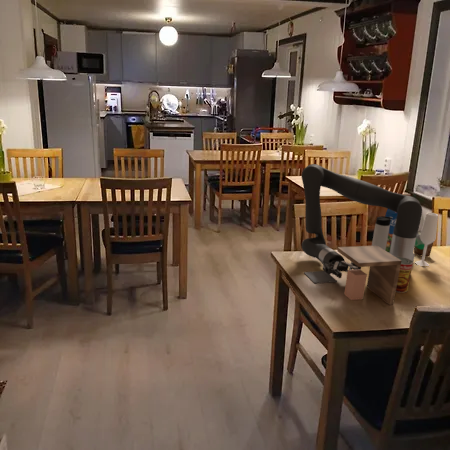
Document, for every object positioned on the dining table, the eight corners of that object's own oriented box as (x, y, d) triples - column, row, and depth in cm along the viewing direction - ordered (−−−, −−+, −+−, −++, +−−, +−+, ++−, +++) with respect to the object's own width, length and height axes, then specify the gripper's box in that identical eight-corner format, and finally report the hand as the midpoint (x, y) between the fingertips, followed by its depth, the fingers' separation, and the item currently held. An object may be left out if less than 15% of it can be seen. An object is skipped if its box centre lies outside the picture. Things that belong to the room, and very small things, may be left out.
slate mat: (325, 271, 193) (325, 270, 193) (336, 281, 184) (337, 280, 183) (303, 273, 190) (303, 272, 190) (314, 283, 181) (314, 282, 181)
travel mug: (386, 260, 209) (393, 219, 203) (372, 259, 209) (379, 218, 203) (382, 255, 215) (389, 215, 209) (368, 254, 215) (375, 214, 209)
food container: (406, 248, 227) (410, 229, 224) (418, 248, 228) (422, 229, 225) (418, 257, 216) (422, 238, 213) (430, 258, 216) (435, 238, 213)
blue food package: (384, 247, 227) (392, 198, 220) (408, 253, 220) (417, 204, 212) (379, 250, 223) (387, 200, 215) (403, 257, 215) (412, 206, 208)
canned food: (387, 290, 178) (392, 262, 175) (386, 282, 186) (391, 255, 182) (408, 294, 177) (414, 265, 173) (406, 285, 184) (411, 258, 180)
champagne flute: (412, 264, 207) (422, 214, 199) (415, 260, 212) (425, 211, 205) (428, 268, 203) (439, 217, 196) (431, 263, 209) (441, 214, 201)
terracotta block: (355, 293, 175) (359, 269, 172) (362, 299, 170) (366, 274, 167) (344, 294, 173) (347, 269, 170) (350, 300, 169) (354, 275, 166)
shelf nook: (369, 286, 181) (376, 245, 176) (393, 304, 167) (401, 260, 162) (331, 289, 177) (337, 247, 171) (352, 308, 162) (359, 263, 157)
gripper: (316, 251, 185) (335, 267, 170) (347, 250, 188) (369, 265, 174) (314, 268, 187) (332, 285, 172) (345, 266, 191) (366, 283, 176)
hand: (350, 275), depth 173 cm, fingers open, 8 cm apart
